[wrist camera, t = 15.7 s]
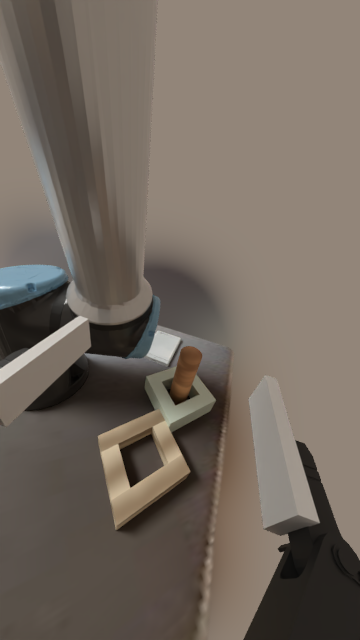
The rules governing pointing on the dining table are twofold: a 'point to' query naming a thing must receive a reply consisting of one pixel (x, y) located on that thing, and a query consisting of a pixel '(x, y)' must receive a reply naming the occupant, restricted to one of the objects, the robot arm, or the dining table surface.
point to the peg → (185, 374)
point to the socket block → (184, 411)
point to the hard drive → (163, 348)
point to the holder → (155, 485)
